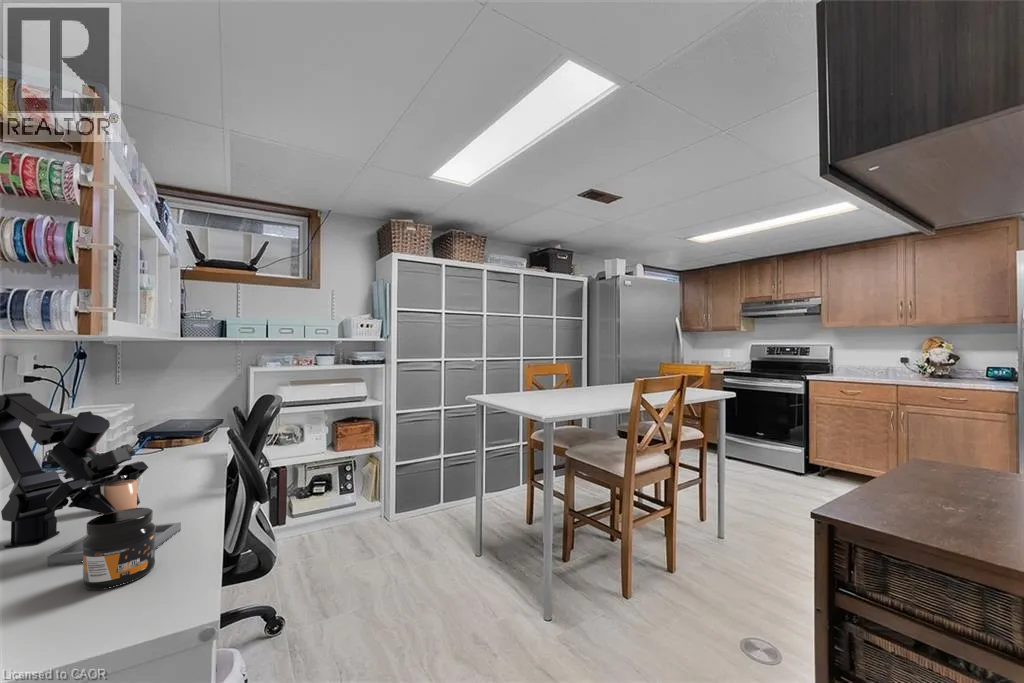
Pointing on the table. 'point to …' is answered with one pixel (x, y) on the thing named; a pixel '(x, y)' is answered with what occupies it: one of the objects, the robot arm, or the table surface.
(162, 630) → the table surface
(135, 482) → the terracotta cup
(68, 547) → the charcoal tray
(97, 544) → the supplement container
